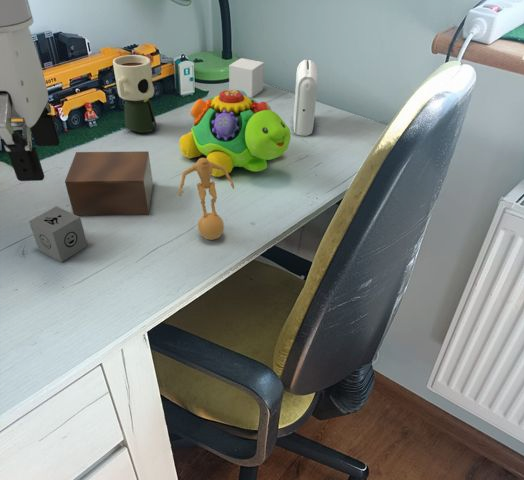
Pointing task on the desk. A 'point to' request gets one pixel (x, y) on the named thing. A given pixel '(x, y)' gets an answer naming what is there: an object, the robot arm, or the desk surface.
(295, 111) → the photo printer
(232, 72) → the white cube
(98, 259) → the desk surface
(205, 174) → the figurine
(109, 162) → the walnut block
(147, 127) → the character mug
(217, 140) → the turtle toy
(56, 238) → the dice cube
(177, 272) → the desk surface
